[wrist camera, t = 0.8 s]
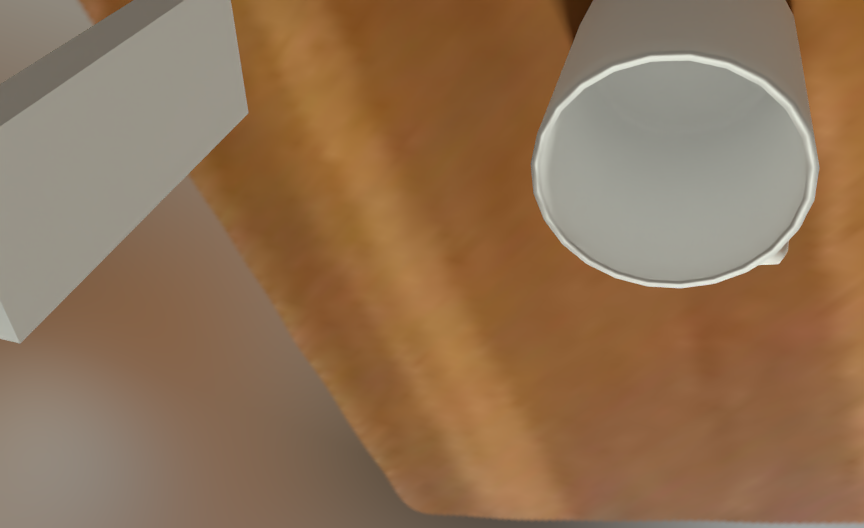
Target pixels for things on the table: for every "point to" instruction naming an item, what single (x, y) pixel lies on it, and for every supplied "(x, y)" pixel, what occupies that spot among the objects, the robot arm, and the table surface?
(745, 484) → the table surface
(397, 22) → the table surface
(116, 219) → the robot arm
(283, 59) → the table surface
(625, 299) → the table surface
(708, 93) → the mug
